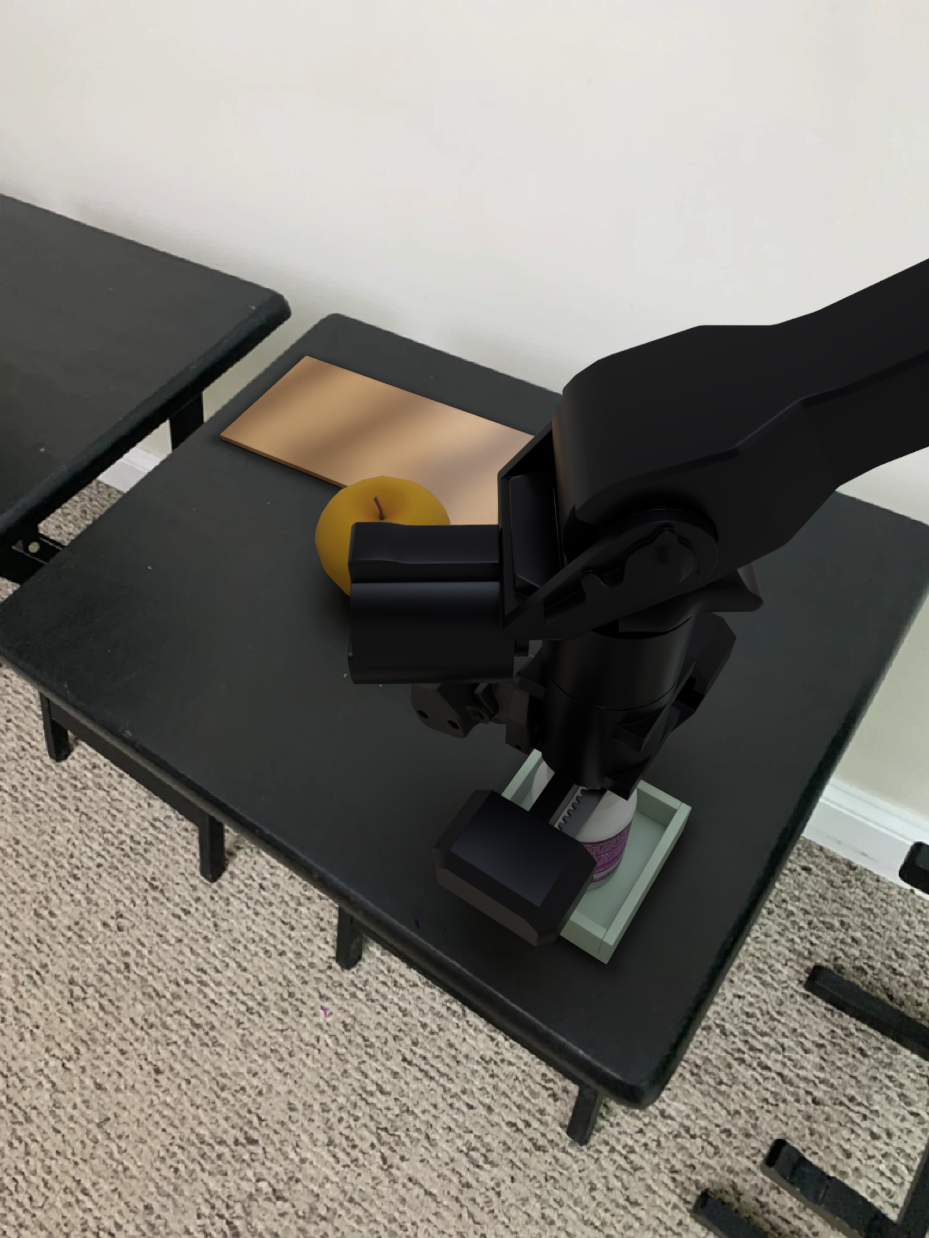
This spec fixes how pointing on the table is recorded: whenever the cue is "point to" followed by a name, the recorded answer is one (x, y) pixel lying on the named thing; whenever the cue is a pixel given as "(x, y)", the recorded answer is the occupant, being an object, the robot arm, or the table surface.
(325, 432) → the wooden board
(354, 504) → the apple
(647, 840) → the tray
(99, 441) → the table surface
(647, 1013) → the table surface
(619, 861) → the pill bottle
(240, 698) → the table surface
